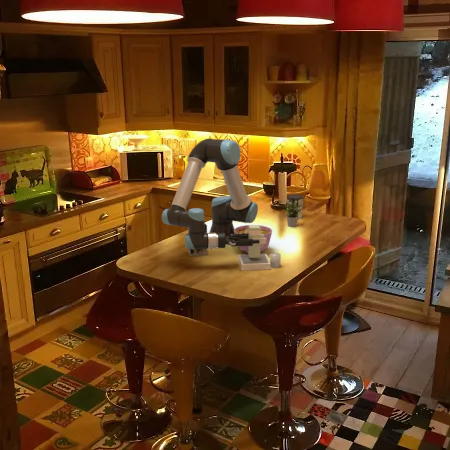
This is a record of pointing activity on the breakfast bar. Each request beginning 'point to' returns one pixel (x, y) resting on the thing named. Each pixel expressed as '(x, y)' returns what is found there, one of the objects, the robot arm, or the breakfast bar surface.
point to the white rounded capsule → (275, 260)
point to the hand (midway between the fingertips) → (265, 239)
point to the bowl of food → (263, 230)
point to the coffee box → (198, 251)
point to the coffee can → (300, 200)
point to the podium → (254, 262)
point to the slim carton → (255, 249)
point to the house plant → (292, 214)
